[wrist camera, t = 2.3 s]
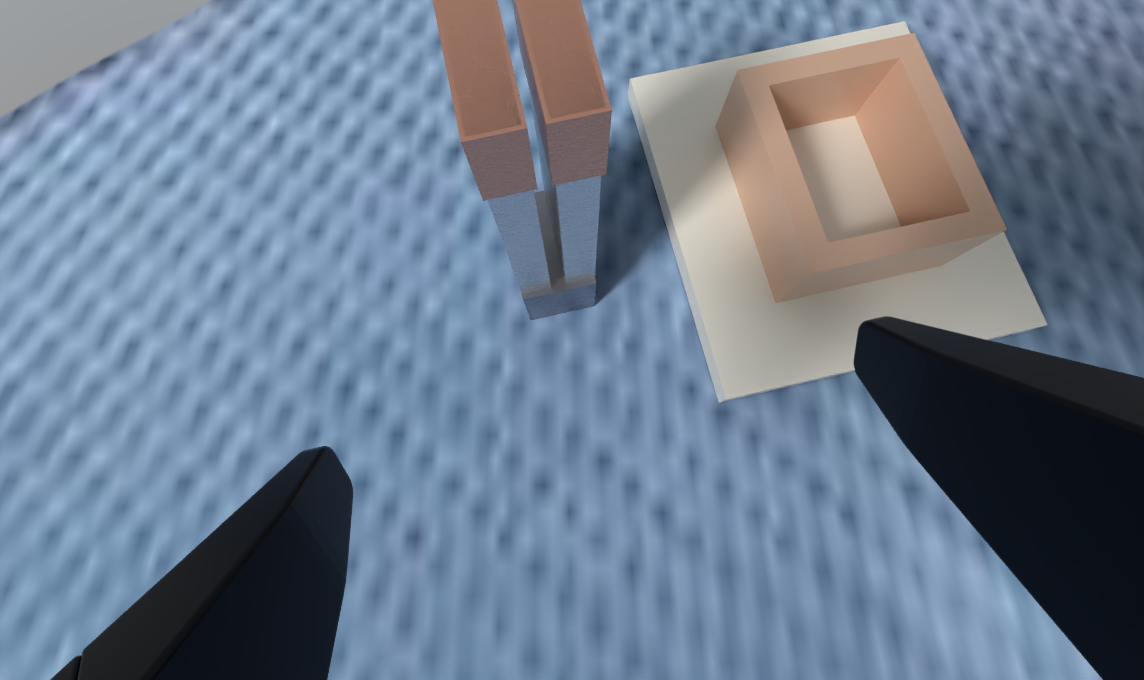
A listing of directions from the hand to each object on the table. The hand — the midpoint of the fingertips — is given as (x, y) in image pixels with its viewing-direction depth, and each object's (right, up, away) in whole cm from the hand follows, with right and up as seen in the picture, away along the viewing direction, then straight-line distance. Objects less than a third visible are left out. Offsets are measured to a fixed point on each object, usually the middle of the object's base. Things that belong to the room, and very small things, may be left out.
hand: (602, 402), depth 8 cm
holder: (+11, +7, +16) cm, 20 cm away
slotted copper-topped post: (-1, +4, +15) cm, 16 cm away
